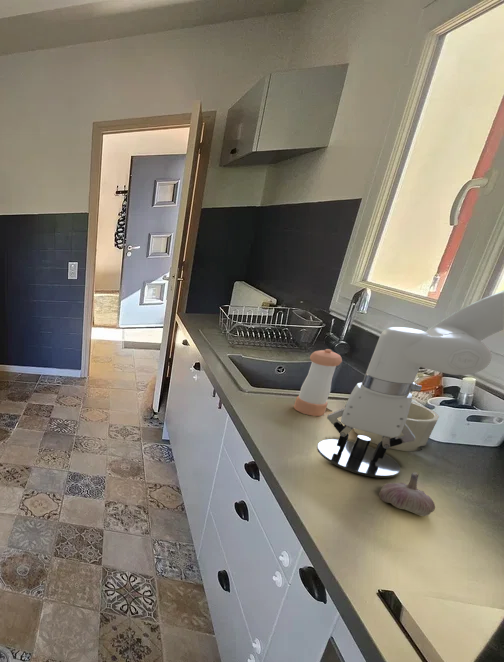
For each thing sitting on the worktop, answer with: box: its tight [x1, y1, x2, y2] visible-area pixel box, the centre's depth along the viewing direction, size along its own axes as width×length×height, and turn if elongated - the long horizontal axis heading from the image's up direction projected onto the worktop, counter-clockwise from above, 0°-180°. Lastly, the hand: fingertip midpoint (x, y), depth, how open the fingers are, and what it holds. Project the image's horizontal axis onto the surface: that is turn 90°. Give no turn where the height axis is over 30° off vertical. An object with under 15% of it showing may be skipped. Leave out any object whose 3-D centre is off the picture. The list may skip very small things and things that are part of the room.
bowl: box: [352, 401, 440, 452], centre depth 98 cm, size 14×14×8 cm
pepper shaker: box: [293, 348, 343, 417], centre depth 110 cm, size 7×7×19 cm
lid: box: [316, 434, 401, 479], centre depth 90 cm, size 15×15×6 cm
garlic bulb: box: [378, 471, 436, 517], centre depth 75 cm, size 8×7×8 cm
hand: (357, 453), depth 90 cm, fingers open, 5 cm apart
